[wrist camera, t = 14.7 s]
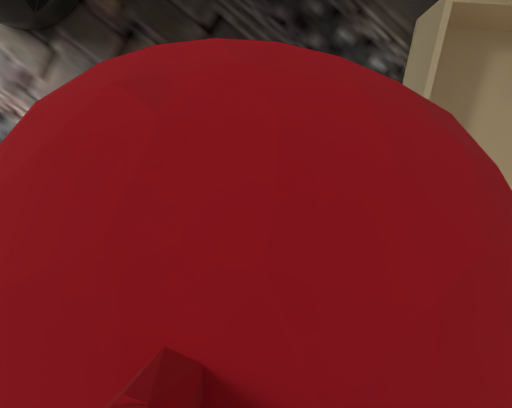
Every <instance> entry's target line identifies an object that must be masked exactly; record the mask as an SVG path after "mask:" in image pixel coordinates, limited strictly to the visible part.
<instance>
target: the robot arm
mask: <svg viewBox="0 0 512 408" xmlns="http://www.w3.org/2000/svg"><path fill="white" fill-rule="evenodd" d="M78 1H79V0H0V23H2V24H5V25H8V26H11V27H14V28H18V29H24V30H37V29H43V28H46V27H49V26H52V25H54V24H56V23H57V22H59V21H60V20H62V19H63V18H64V17H66V16H67V15H68V14H69V13H70V12H71V11H72V9H73V8H74V7H75V5H76V4H77V2H78Z"/></svg>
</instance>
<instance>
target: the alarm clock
mask: <svg viewBox="0 0 512 408" xmlns="http://www.w3.org/2000/svg"><path fill="white" fill-rule="evenodd" d="M0 408H512V190H511V188H510V186H509V185H508V183H507V181H506V180H505V178H504V176H503V174H502V173H501V171H500V169H499V168H498V166H497V165H496V164H495V162H494V161H493V160H492V159H491V158H490V157H489V156H488V155H487V153H486V152H485V151H484V150H483V149H482V148H481V147H480V146H479V144H478V143H477V142H476V141H475V140H474V139H473V138H472V136H471V135H470V134H469V133H468V132H467V131H466V130H465V129H464V127H463V126H462V125H461V124H460V123H459V122H458V121H457V120H456V118H455V117H454V116H453V115H452V114H451V113H450V112H448V111H446V110H445V109H443V108H441V107H440V106H438V105H436V104H435V103H433V102H431V101H430V100H428V99H426V98H424V97H423V96H421V95H419V94H418V93H416V92H414V91H413V90H411V89H409V88H408V87H406V86H404V85H403V84H401V83H399V82H398V81H396V80H394V79H391V78H389V77H387V76H384V75H382V74H380V73H377V72H375V71H373V70H370V69H368V68H366V67H363V66H361V65H359V64H356V63H354V62H352V61H349V60H347V59H345V58H342V57H339V56H335V55H331V54H327V53H323V52H318V51H314V50H310V49H306V48H302V47H298V46H294V45H289V44H285V43H281V42H275V41H258V40H242V39H226V38H210V39H201V40H193V41H184V42H175V43H167V44H158V45H154V46H150V47H147V48H144V49H141V50H138V51H134V52H131V53H128V54H125V55H122V56H118V57H115V58H112V59H109V60H105V61H102V62H101V63H99V64H97V65H96V66H94V67H92V68H91V69H89V70H88V71H86V72H84V73H83V74H81V75H79V76H78V77H76V78H74V79H73V80H71V81H70V82H68V83H66V84H65V85H63V86H61V87H60V88H58V89H56V90H55V91H53V92H52V93H50V94H48V95H47V96H45V97H43V98H42V99H40V100H38V101H37V102H35V104H34V105H33V106H32V107H31V108H30V109H29V111H28V112H27V113H26V114H25V115H24V116H23V118H22V119H21V120H20V121H19V122H18V123H17V125H16V126H15V127H14V128H13V129H12V131H11V132H10V133H9V134H8V135H7V136H6V138H5V139H4V140H3V141H2V142H1V143H0Z"/></svg>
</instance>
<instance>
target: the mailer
mask: <svg viewBox="0 0 512 408" xmlns="http://www.w3.org/2000/svg"><path fill="white" fill-rule="evenodd" d="M402 84H403V85H404V86H406V87H408V88H409V89H411V90H413V91H414V92H416V93H418V94H419V95H421V96H423V97H424V98H426V99H428V100H430V101H431V102H433V103H435V104H436V105H438V106H440V107H441V108H443V109H445V110H446V111H448V112H450V113H451V114H452V115H453V116H454V117H455V118H456V120H457V121H458V122H459V123H460V124H461V125H462V126H463V127H464V129H465V130H466V131H467V132H468V133H469V134H470V135H471V136H472V138H473V139H474V140H475V141H476V142H477V143H478V144H479V146H480V147H481V148H482V149H483V150H484V151H485V152H486V153H487V155H488V156H489V157H490V158H491V159H492V160H493V161H494V162H495V164H496V165H497V166H498V168H499V169H500V171H501V173H502V174H503V176H504V178H505V180H506V181H507V183H508V185H509V186H510V188H511V190H512V0H439V1H438V2H436V3H435V4H434V5H433V6H432V7H431V8H429V9H428V10H427V11H426V12H425V13H424V14H422V15H421V16H420V17H419V18H418V19H417V20H416V24H415V28H414V33H413V38H412V42H411V47H410V51H409V56H408V60H407V65H406V70H405V74H404V79H403V83H402Z"/></svg>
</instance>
